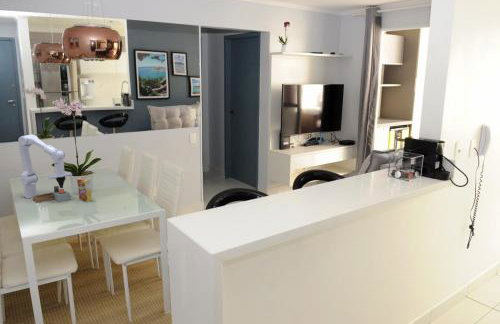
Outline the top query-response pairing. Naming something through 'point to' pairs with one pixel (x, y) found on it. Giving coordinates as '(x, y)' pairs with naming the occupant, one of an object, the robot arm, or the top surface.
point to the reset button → (61, 191)
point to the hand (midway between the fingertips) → (61, 187)
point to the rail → (43, 197)
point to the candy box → (84, 189)
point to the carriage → (55, 190)
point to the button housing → (62, 196)
